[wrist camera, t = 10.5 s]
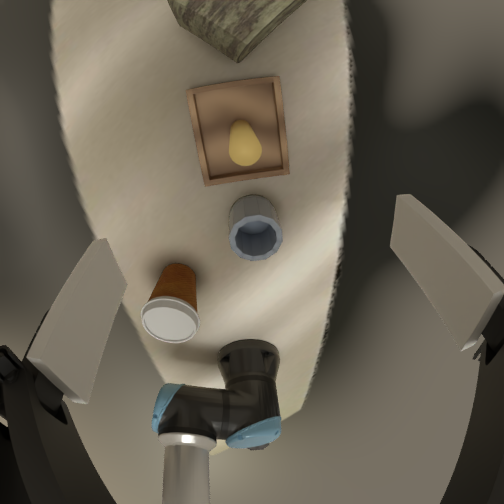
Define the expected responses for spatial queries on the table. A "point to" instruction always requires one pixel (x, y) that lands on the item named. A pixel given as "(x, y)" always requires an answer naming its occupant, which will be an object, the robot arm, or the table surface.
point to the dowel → (244, 144)
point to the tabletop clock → (232, 21)
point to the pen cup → (254, 228)
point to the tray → (225, 114)
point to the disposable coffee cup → (172, 306)
